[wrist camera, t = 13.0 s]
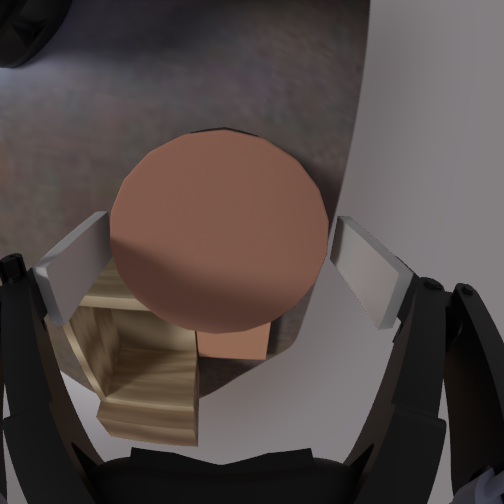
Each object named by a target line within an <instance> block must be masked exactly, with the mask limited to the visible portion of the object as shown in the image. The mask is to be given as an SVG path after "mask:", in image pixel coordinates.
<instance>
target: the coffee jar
mask: <svg viewBox="0 0 504 504" xmlns="http://www.w3.org/2000/svg"><path fill="white" fill-rule="evenodd" d="M328 226H329V220H328V217H327V213H326V210H325V207H324V203H323V200H322V197H321V194H320V190H319V188H318V187H317V185H316V184H315V182H314V181H313V180H312V178H311V177H310V176H309V174H308V173H307V172H306V170H305V169H304V168H303V167H302V165H301V164H300V163H299V161H298V160H297V159H296V158H294V157H293V156H291V155H290V154H288V153H287V152H285V151H283V150H282V149H280V148H279V147H277V146H276V145H274V144H273V143H271V142H269V141H268V140H266V139H265V138H261V137H259V136H257V135H253V134H250V133H247V132H244V131H240V130H235V129H231V128H226V127H223V128H214V129H206V130H201V131H196V132H191V133H189V134H184V135H182V136H180V137H178V138H176V139H174V140H172V141H170V142H168V143H166V144H164V145H162V146H160V147H158V148H156V149H154V150H152V151H151V152H149V153H148V154H147V155H146V156H145V157H144V158H143V159H142V160H141V161H140V162H139V164H138V165H137V166H136V167H135V168H134V169H133V170H132V171H131V172H130V173H129V175H128V176H127V177H126V178H125V179H124V181H123V183H122V186H121V188H120V190H119V193H118V195H117V198H116V200H115V203H114V205H113V208H112V211H111V222H110V247H111V251H112V254H113V257H114V261H115V264H116V267H117V270H118V273H119V275H120V277H121V278H122V280H123V281H124V283H125V284H126V286H127V287H128V289H129V290H130V291H131V293H132V294H133V296H134V297H135V298H136V300H138V301H139V302H140V303H141V304H143V305H144V306H145V307H146V308H148V309H149V310H150V311H151V312H153V313H154V314H155V315H156V316H158V317H159V318H161V319H163V320H165V321H168V322H170V323H172V324H175V325H177V326H179V327H182V328H184V329H186V330H192V331H199V332H205V333H212V334H222V333H233V332H242V331H247V330H250V329H253V328H256V327H258V326H261V325H264V324H267V323H269V322H272V321H274V320H275V319H277V318H278V317H280V316H281V315H283V314H284V313H285V312H287V311H288V310H290V309H291V308H293V307H294V306H295V305H297V304H298V303H299V301H300V300H301V299H302V298H303V297H304V295H305V294H306V293H307V292H308V290H309V289H310V288H311V287H312V285H313V284H314V283H315V282H316V280H317V277H318V275H319V272H320V270H321V267H322V265H323V262H324V260H325V257H326V255H327V246H328Z"/></svg>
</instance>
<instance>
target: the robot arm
mask: <svg viewBox="0 0 504 504" xmlns="http://www.w3.org/2000/svg"><path fill="white" fill-rule="evenodd" d="M71 2H72V0H0V68H14V67H17V66H19V65H21V64H23V63H25V62H26V61H28V60H29V59H31V58H32V57H33V56H34V55H35V54H36V53H38V52H39V51H40V50H41V49H42V48H43V47H44V46H45V44H46V43H47V42H48V41H49V40H50V39H51V37H52V36H53V35H54V33H55V32H56V31H57V29H58V28H59V26H60V25H61V23H62V21H63V20H64V18H65V16H66V14H67V12H68V10H69V8H70V5H71ZM112 257H113V254H112V251H111V247H110V226H109V217H108V211H101V212H95V213H94V214H93V215H92V216H90V217H89V218H88V219H86V220H85V221H84V222H83V223H81V224H80V225H79V226H78V227H77V228H75V229H74V230H73V231H72V232H71V233H69V234H68V235H67V236H66V237H65V238H63V239H62V240H61V241H60V242H59V243H58V244H57V245H55V246H54V247H53V248H52V249H51V250H50V251H49V252H47V253H46V254H45V255H44V256H43V257H42V258H41V259H40V260H39V261H38V262H37V263H36V264H35V265H34V266H33V267H32V268H30V269H29V270H28V271H26V268H25V264H24V261H23V257H22V255H21V254H19V253H15V254H11V255H8V256H6V257H4V258H2V259H1V260H0V278H1V281H2V286H0V504H8V503H7V484H6V483H7V482H6V471H5V461H4V448H3V430H4V435H5V439H6V443H7V446H8V450H9V454H10V457H11V460H12V464H13V467H14V469H15V473H16V475H17V478H18V481H19V484H20V486H21V489H22V491H23V494H24V496H25V498H26V500H27V503H28V504H427V502H428V499H429V497H430V494H431V490H432V487H433V484H434V481H435V477H436V474H437V470H438V466H439V462H440V458H441V454H442V450H443V445H444V440H445V434H446V421H445V420H443V419H440V418H438V412H439V406H440V399H441V392H442V383H443V379H444V385H445V392H446V399H447V407H448V417H449V429H450V446H451V447H450V448H451V481H452V490H453V495H454V498H453V501H452V502H451V503H449V504H504V343H503V340H502V338H501V336H500V334H499V332H498V330H497V328H496V326H495V324H494V322H493V320H492V318H491V316H490V314H489V312H488V310H487V309H486V307H485V305H484V303H483V301H482V300H481V298H480V296H479V294H478V293H477V291H476V290H475V289H473V287H472V286H470V285H468V284H463V283H458V284H457V285H456V286H455V289H454V291H453V293H452V292H446V291H445V290H444V287H443V286H442V285H441V284H440V283H439V282H437V281H436V280H434V279H431V278H427V277H421V278H420V277H418V276H417V275H416V274H415V273H414V272H413V271H412V270H411V269H410V268H408V266H407V265H406V264H404V263H403V262H402V261H401V260H400V259H399V258H398V257H396V256H395V255H393V254H392V253H391V252H390V251H389V250H388V249H387V248H385V247H384V246H383V245H382V244H381V243H380V242H379V241H377V240H376V239H375V238H374V237H373V236H372V235H370V234H369V233H368V232H367V231H366V230H365V229H364V228H362V227H361V226H360V225H359V224H357V223H356V222H355V221H354V220H353V219H351V218H350V217H344V216H338V218H337V224H336V230H335V235H334V241H333V246H332V251H331V257H330V260H331V261H332V262H333V264H334V265H335V267H336V268H337V269H338V271H339V272H340V274H341V275H342V276H343V278H344V279H345V281H346V282H347V284H348V285H349V287H350V288H351V289H352V291H353V292H354V294H355V295H356V297H357V298H358V300H359V301H360V303H361V304H362V306H363V307H364V309H365V310H366V312H367V313H368V315H369V316H370V318H371V319H372V321H373V322H374V324H375V326H376V327H377V329H378V330H381V329H388V328H392V327H393V325H394V323H395V320H396V318H397V317H398V318H399V319H400V321H401V324H400V326H399V328H398V331H397V333H396V335H395V337H394V339H393V343H394V346H393V349H392V352H391V355H390V359H389V362H388V365H387V368H386V371H385V374H384V377H383V379H382V382H381V385H380V387H379V390H378V393H377V395H376V398H375V400H374V403H373V406H372V408H371V410H370V413H369V415H368V417H367V420H366V422H365V424H364V426H363V428H362V431H361V433H360V435H359V437H358V439H357V441H356V443H355V445H354V447H353V449H352V451H351V453H350V454H349V456H348V457H347V458H346V460H345V461H344V463H343V464H342V463H339V462H337V461H333V460H328V459H323V458H313V456H312V451H311V448H307V449H301V450H294V451H286V452H276V453H267V454H263V455H260V456H257V457H253V458H249V459H246V460H242V461H238V462H234V463H230V464H225V465H217V464H213V463H209V462H205V461H201V460H197V459H193V458H190V457H186V456H183V455H180V454H176V453H170V452H161V451H154V450H146V449H140V448H134V447H132V449H131V456H130V457H124V458H118V459H114V460H110V461H107V462H104V461H103V460H102V459H101V457H100V456H99V455H98V453H97V452H96V450H95V448H94V447H93V445H92V443H91V442H90V439H89V438H88V436H87V434H86V432H85V430H84V428H83V426H82V423H81V421H80V419H79V417H78V415H77V413H76V410H75V408H74V406H73V404H72V401H71V399H70V396H69V394H68V391H67V389H66V386H65V384H64V381H63V378H62V375H61V373H60V370H59V367H58V364H57V361H56V357H55V354H54V351H53V348H52V344H51V341H50V337H49V333H48V329H47V325H46V323H45V321H44V317H45V316H46V314H47V313H48V315H49V318H50V320H51V323H52V324H54V325H60V326H66V325H67V323H68V321H69V320H70V318H71V317H72V315H73V313H74V312H75V310H76V309H77V307H78V306H79V304H80V303H81V301H82V299H83V298H84V296H85V295H86V293H87V292H88V291H89V289H90V288H91V286H92V285H93V283H94V282H95V280H96V279H97V278H98V276H99V275H100V273H101V272H102V271H103V269H104V268H105V266H106V265H107V264H108V262H109V261H110V260H111V258H112ZM4 384H5V387H6V394H7V400H8V405H9V410H10V416H9V417H6V418H4V419H3V397H4Z"/></svg>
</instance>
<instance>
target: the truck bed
mask: <svg viewBox="0 0 504 504" xmlns="http://www.w3.org/2000/svg"><path fill="white" fill-rule="evenodd" d="M63 328H64V331H65V333H66V335H67V338H68V340H69V342H70V344H71V346H72V348H73V351H74V353H75V355H76V357H77V359H78V361H79V363H80V365H81V367H82V368H83V370H84V372H85V374H86V376H87V378H88V380H89V381H90V383H91V385H92V387H93V388H94V390H95V392H96V393H97V395H98V397H99V398H100V400H101V402H100V406H99V409H98V413H97V418H98V420H99V421H100V422H101V424H102V425H103V426H104V428H105V429H106V430H107V432H108V433H109V434H110V435H111V436H114V437H119V438H124V439H130V440H136V441H143V442H150V443H159V444H168V445H180V446H197V447H198V411H199V385H200V370H199V361H198V351H197V341H196V331H192V330H186V329H184V328H182V327H179V326H177V325H175V324H172V323H170V322H168V321H165V320H163V319H161V318H159V317H158V316H156V315H155V314H154V313H153V312H151V311H150V310H149V309H148V308H146V307H145V306H144V305H143V304H141V303H140V302H139V301H138V300H136V298H135V297H134V296H133V294H132V293H131V291H130V290H129V289H128V287H127V286H126V284H125V283H124V281H123V280H122V278H121V277H120V275H119V273H118V270H117V267H116V264H115V261H114V257H112V258H111V260H110V261H109V262H108V264H107V265H106V266H105V268H104V269H103V271H102V272H101V273H100V275H99V276H98V278H97V279H96V280H95V282H94V283H93V285H92V286H91V288H90V289H89V291H88V292H87V293H86V295H85V296H84V298H83V299H82V301H81V303H80V304H79V306H78V307H77V309H76V310H75V312H74V313H73V315H72V317H71V318H70V320H69V321H68V323H67V325H66V326H63Z"/></svg>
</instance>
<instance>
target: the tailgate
mask: <svg viewBox="0 0 504 504" xmlns="http://www.w3.org/2000/svg"><path fill="white" fill-rule="evenodd" d="M270 324H271V322H269V323H267V324H264V325H261V326H258V327H256V328H253V329H250V330H247V331H242V332H233V333H222V334H212V333H205V332H199V331H197V341H198V351H199V356H202V357H217V358H236V359H266V352H267V345H268V338H269V332H270Z"/></svg>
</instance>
